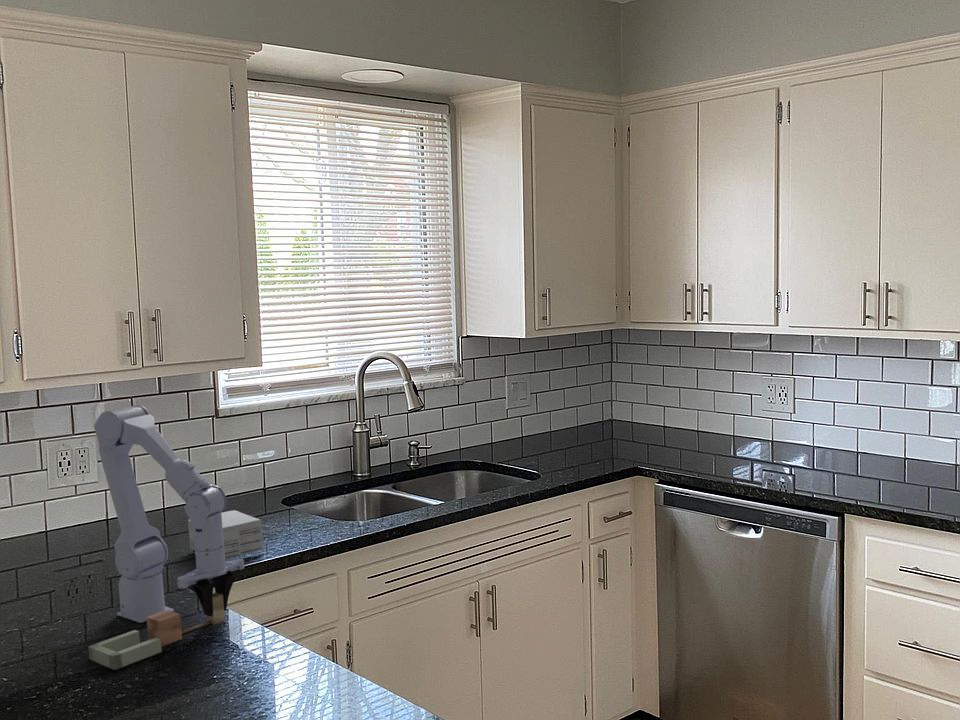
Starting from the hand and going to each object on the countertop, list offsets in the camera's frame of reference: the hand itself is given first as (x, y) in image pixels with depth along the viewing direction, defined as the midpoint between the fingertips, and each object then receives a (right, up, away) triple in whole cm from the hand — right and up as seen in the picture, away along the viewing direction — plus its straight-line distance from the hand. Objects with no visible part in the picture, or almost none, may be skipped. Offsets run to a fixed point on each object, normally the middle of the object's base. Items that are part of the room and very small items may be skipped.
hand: (215, 612), depth 191 cm
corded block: (-4, -3, -5) cm, 7 cm away
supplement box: (-11, +1, +49) cm, 51 cm away
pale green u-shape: (-13, -4, -15) cm, 20 cm away
